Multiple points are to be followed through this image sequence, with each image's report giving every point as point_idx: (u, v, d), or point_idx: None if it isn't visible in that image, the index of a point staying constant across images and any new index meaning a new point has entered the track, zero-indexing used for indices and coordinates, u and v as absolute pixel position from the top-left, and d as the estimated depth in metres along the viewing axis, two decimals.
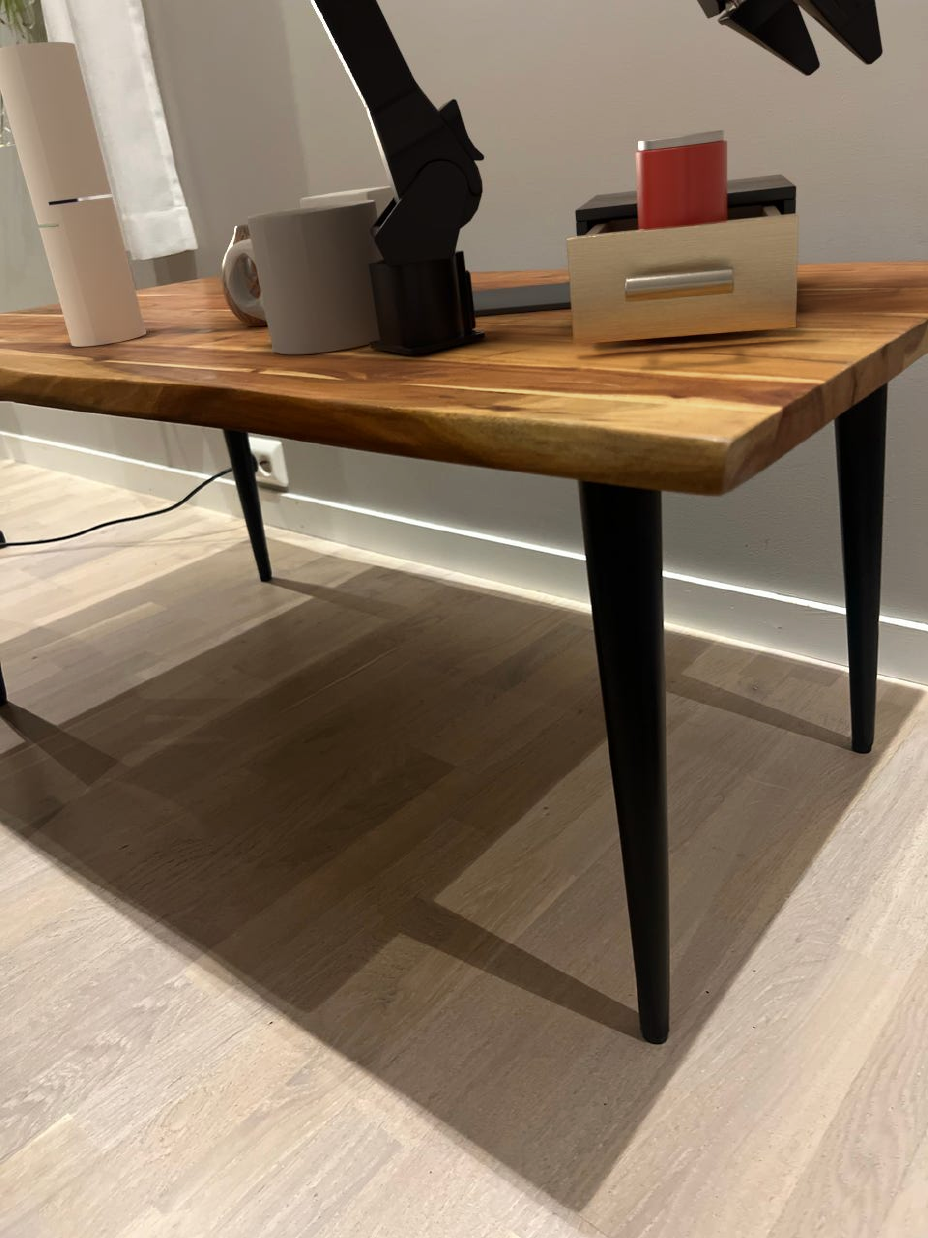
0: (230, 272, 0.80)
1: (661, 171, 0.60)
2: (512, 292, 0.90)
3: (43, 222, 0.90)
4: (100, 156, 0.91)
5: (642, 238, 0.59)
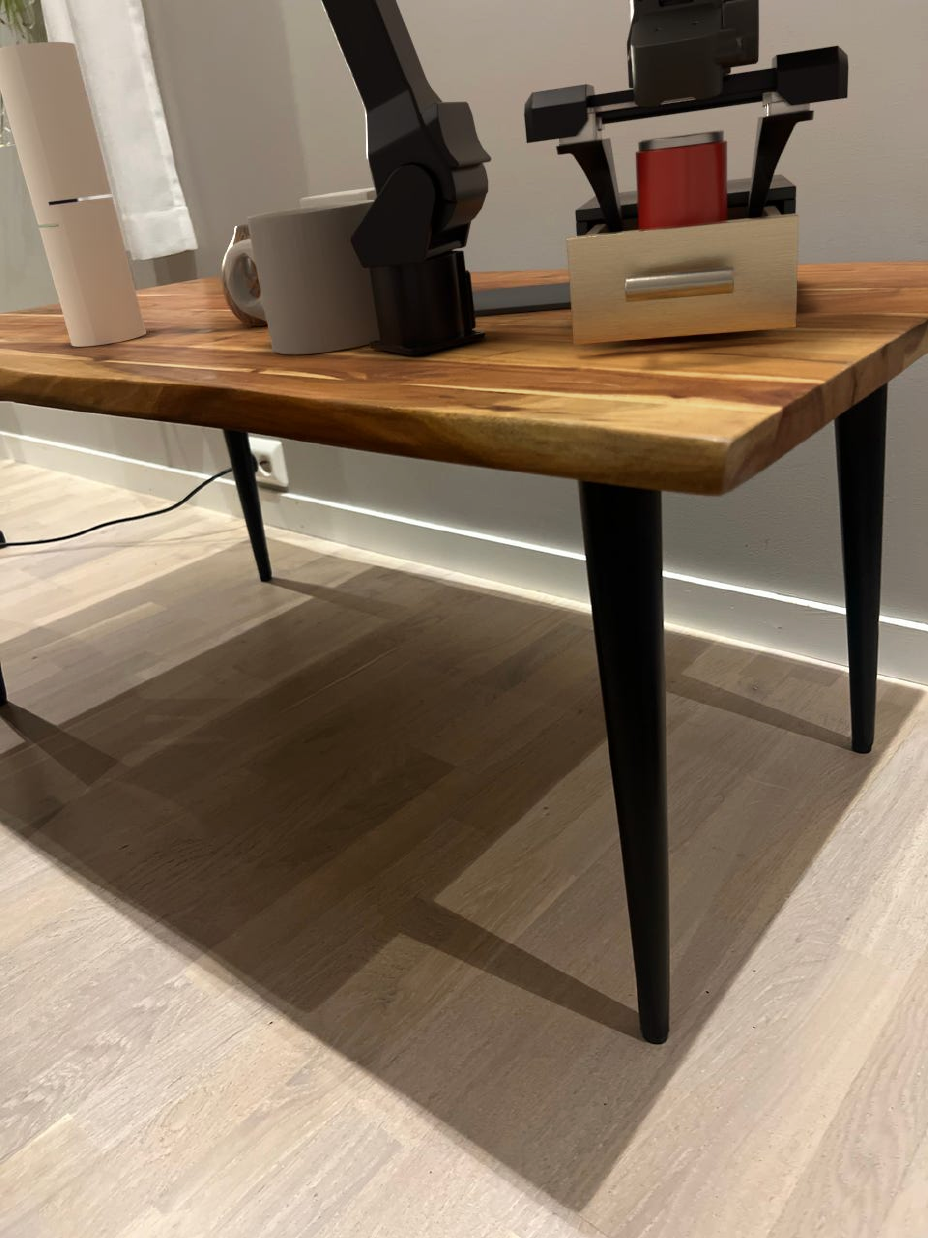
0: (230, 272, 0.80)
1: (661, 171, 0.60)
2: (512, 292, 0.90)
3: (43, 222, 0.90)
4: (100, 156, 0.91)
5: (642, 238, 0.59)
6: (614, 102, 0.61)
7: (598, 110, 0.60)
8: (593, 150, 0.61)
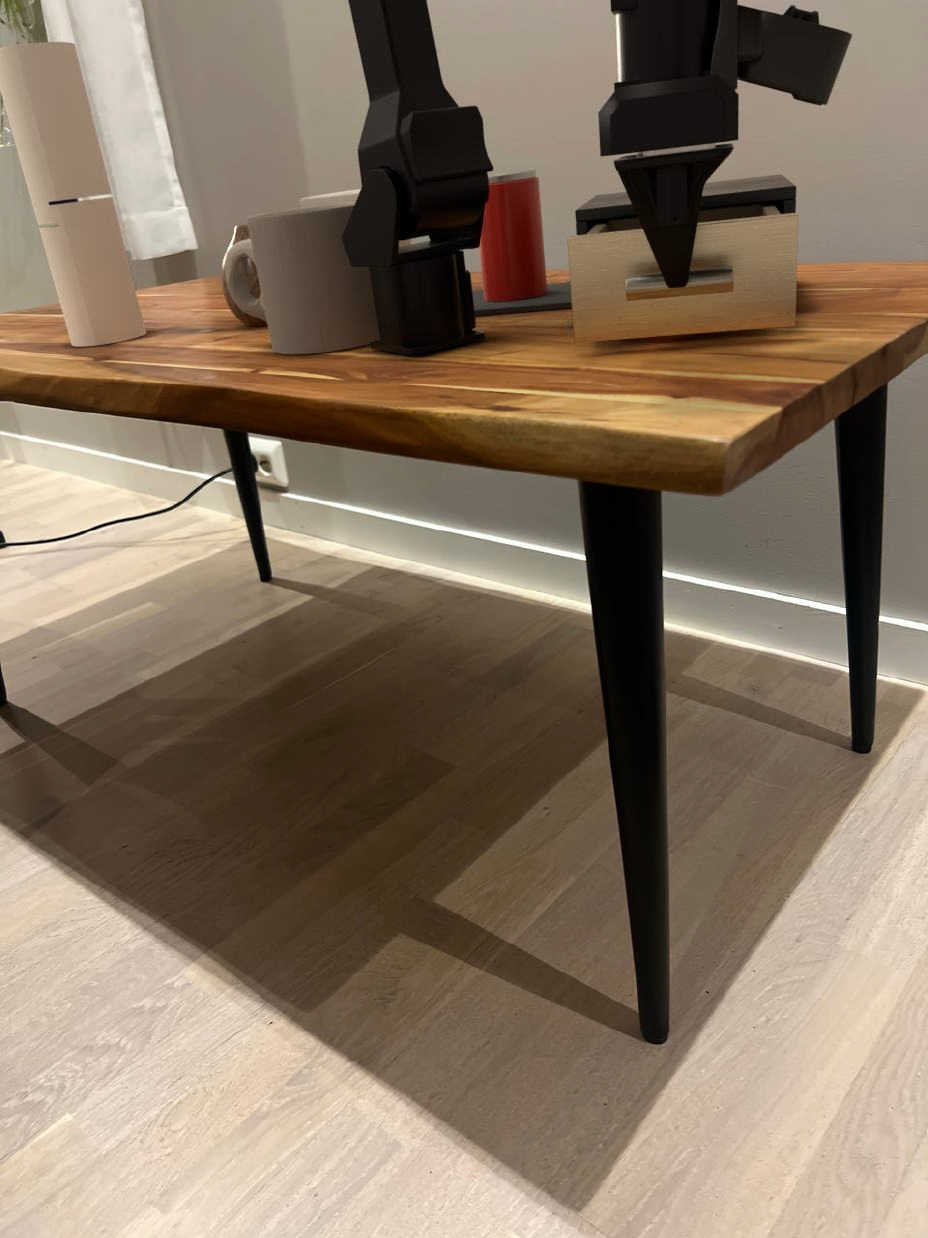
0: (230, 272, 0.80)
1: (488, 200, 0.82)
2: None
3: (43, 222, 0.90)
4: (100, 156, 0.91)
5: (642, 237, 0.59)
6: None
7: None
8: None
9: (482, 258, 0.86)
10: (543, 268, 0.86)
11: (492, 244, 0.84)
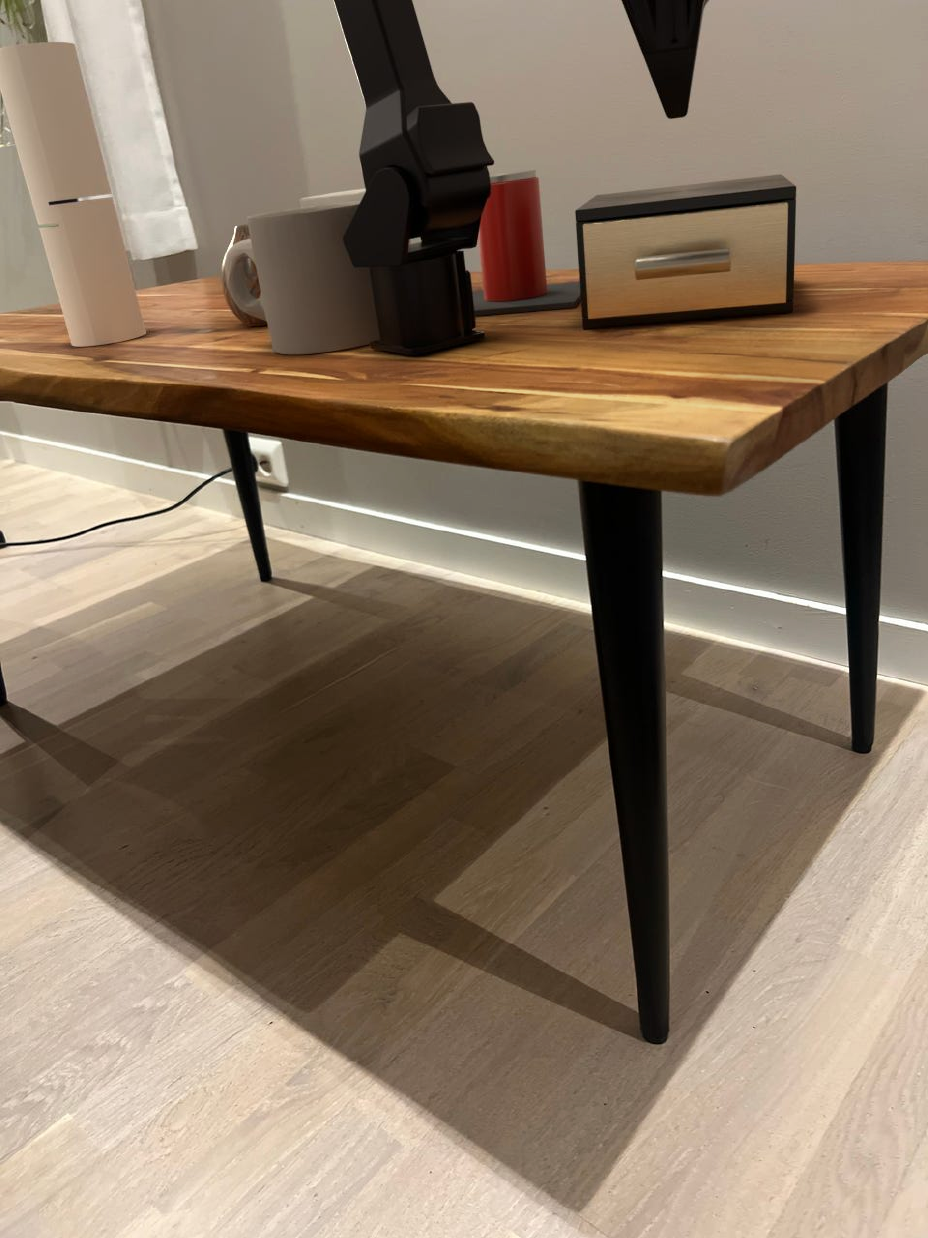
0: (230, 272, 0.80)
1: (488, 200, 0.82)
2: None
3: (43, 222, 0.90)
4: (100, 156, 0.91)
5: (649, 224, 0.67)
6: None
7: None
8: None
9: (482, 258, 0.86)
10: (543, 268, 0.86)
11: (492, 244, 0.84)
